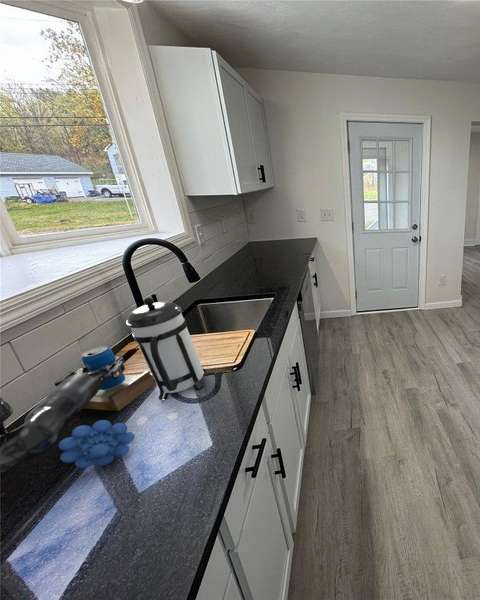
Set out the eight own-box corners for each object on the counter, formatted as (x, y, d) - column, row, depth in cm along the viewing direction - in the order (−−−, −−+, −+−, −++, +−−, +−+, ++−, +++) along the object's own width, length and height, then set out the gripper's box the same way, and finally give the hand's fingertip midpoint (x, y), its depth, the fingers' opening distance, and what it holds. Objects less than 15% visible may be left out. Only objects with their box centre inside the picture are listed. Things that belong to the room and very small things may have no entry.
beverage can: (93, 391, 92) (73, 356, 87) (116, 377, 98) (99, 344, 93) (109, 393, 90) (90, 358, 86) (131, 379, 96) (115, 345, 91)
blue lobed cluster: (77, 492, 66) (48, 451, 61) (74, 474, 70) (47, 434, 65) (144, 456, 74) (122, 417, 69) (138, 441, 78) (117, 403, 73)
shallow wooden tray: (67, 407, 92) (59, 394, 90) (108, 381, 103) (101, 369, 101) (119, 411, 89) (111, 397, 87) (155, 383, 100) (149, 371, 98)
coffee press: (140, 398, 94) (95, 307, 82) (191, 367, 107) (158, 286, 95) (178, 411, 87) (134, 315, 75) (227, 377, 100) (196, 291, 88)
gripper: (98, 377, 79) (129, 345, 94) (27, 391, 75) (71, 356, 90) (111, 400, 82) (139, 366, 96) (43, 415, 78) (83, 377, 93)
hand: (106, 361), depth 93 cm, fingers closed on beverage can, 6 cm apart
